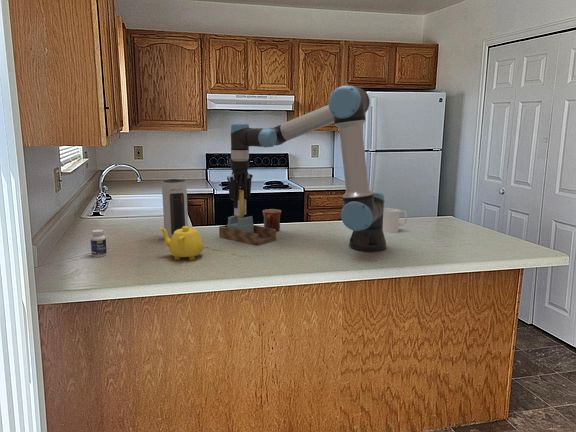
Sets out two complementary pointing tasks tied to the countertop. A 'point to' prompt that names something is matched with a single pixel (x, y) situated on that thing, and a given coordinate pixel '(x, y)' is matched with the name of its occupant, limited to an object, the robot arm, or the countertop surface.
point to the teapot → (184, 242)
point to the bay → (248, 235)
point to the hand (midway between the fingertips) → (240, 214)
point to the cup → (392, 220)
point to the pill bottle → (98, 243)
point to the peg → (241, 204)
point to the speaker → (174, 205)
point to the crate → (241, 223)
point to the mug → (272, 218)
